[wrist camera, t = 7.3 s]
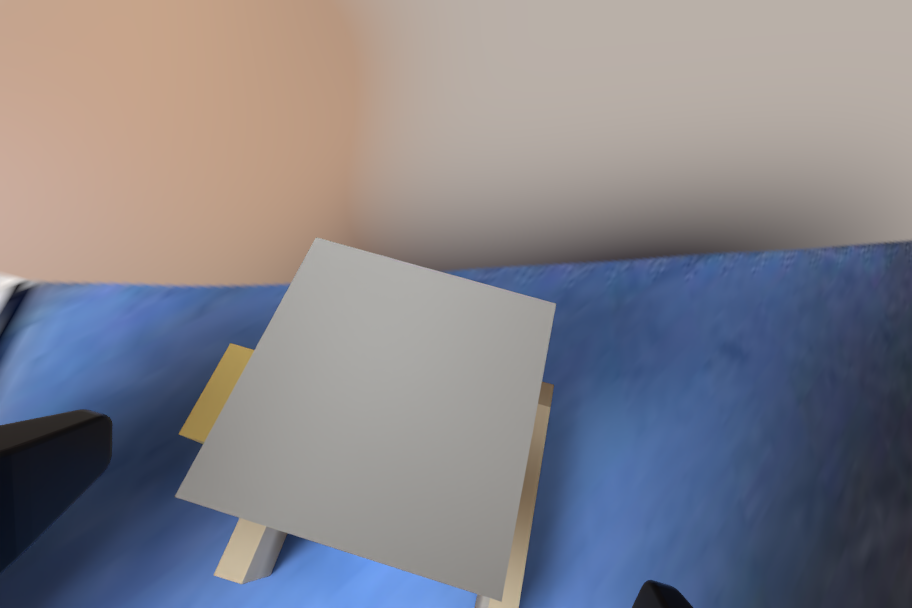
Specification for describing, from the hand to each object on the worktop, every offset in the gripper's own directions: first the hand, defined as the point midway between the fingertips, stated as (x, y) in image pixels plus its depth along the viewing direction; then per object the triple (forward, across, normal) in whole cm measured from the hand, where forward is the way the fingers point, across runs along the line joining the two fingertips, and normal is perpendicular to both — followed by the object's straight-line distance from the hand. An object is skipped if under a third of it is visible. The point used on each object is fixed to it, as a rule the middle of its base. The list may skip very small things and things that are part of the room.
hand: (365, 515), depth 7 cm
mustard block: (+8, +6, +4) cm, 11 cm away
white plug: (+7, 0, +5) cm, 9 cm away
